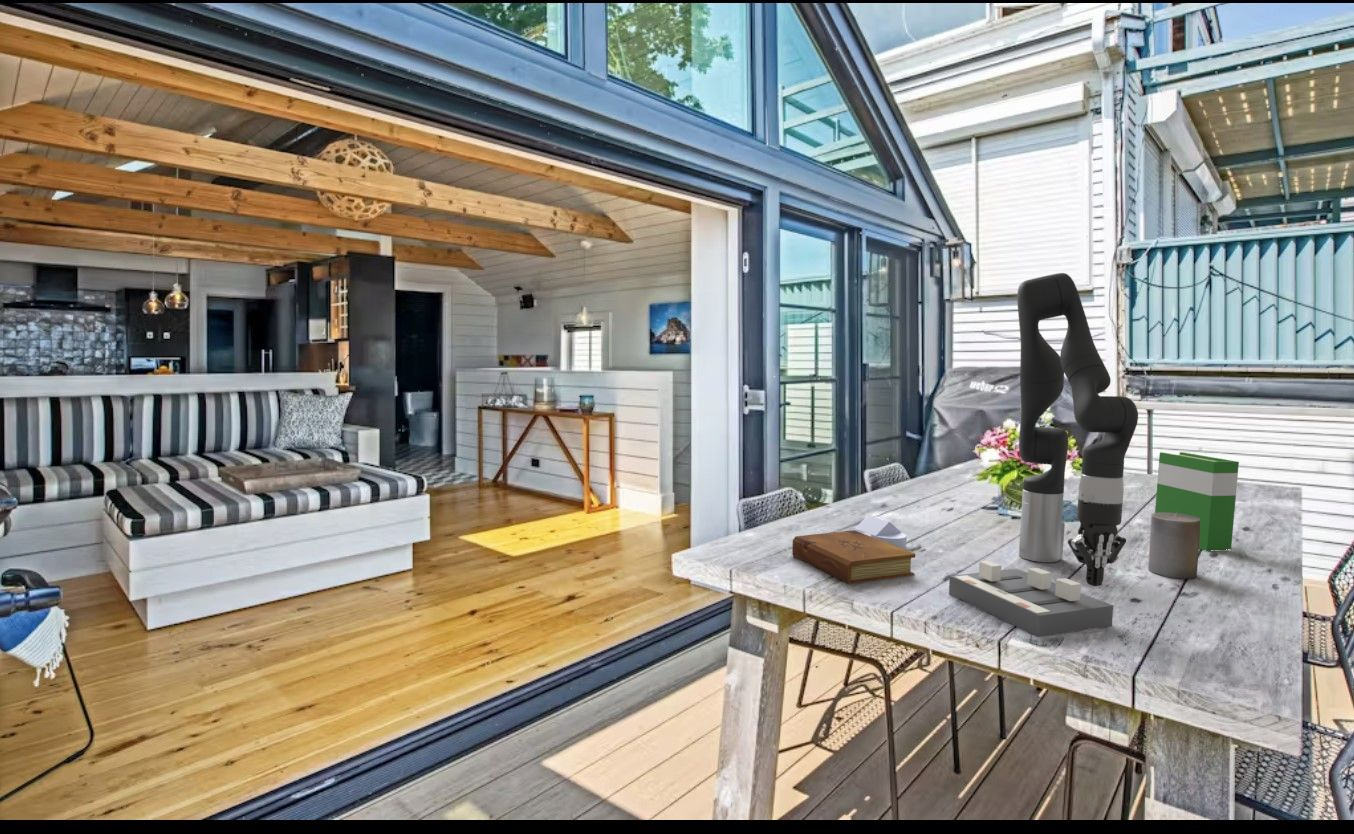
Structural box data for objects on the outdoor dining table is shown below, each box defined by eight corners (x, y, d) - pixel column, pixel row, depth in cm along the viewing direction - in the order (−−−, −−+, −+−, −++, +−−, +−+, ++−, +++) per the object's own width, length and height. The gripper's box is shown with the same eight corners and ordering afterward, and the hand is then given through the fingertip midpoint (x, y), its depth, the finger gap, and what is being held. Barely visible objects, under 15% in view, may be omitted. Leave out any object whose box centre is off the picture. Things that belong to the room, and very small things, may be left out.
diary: (792, 559, 181) (792, 536, 180) (853, 551, 188) (854, 530, 187) (847, 586, 159) (848, 560, 159) (914, 577, 167) (915, 552, 166)
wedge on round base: (854, 540, 197) (886, 552, 185) (855, 516, 196) (887, 527, 184) (880, 537, 201) (913, 549, 189) (881, 513, 200) (914, 524, 188)
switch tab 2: (1036, 582, 148) (1037, 567, 148) (1050, 588, 145) (1051, 573, 144) (1027, 584, 147) (1028, 568, 147) (1041, 589, 144) (1042, 574, 144)
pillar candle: (1194, 571, 173) (1198, 509, 172) (1199, 581, 164) (1203, 517, 163) (1146, 565, 178) (1150, 505, 177) (1148, 575, 169) (1152, 512, 168)
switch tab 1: (987, 575, 153) (988, 560, 153) (1000, 580, 149) (1001, 565, 149) (978, 576, 152) (979, 561, 152) (991, 581, 149) (992, 566, 148)
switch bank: (1015, 586, 160) (1016, 567, 159) (1111, 625, 137) (1113, 604, 137) (948, 594, 154) (949, 575, 154) (1038, 636, 131) (1039, 614, 131)
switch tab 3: (1064, 593, 142) (1065, 578, 141) (1080, 600, 138) (1081, 583, 138) (1055, 595, 141) (1056, 579, 141) (1070, 601, 137) (1071, 585, 137)
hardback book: (1153, 534, 208) (1159, 452, 206) (1175, 533, 209) (1182, 452, 207) (1206, 551, 191) (1214, 462, 188) (1231, 550, 192) (1238, 461, 189)
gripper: (1108, 493, 146) (1102, 576, 147) (1058, 496, 141) (1052, 582, 143) (1143, 500, 139) (1136, 588, 140) (1091, 503, 134) (1084, 594, 136)
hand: (1094, 584), depth 142 cm, fingers closed
